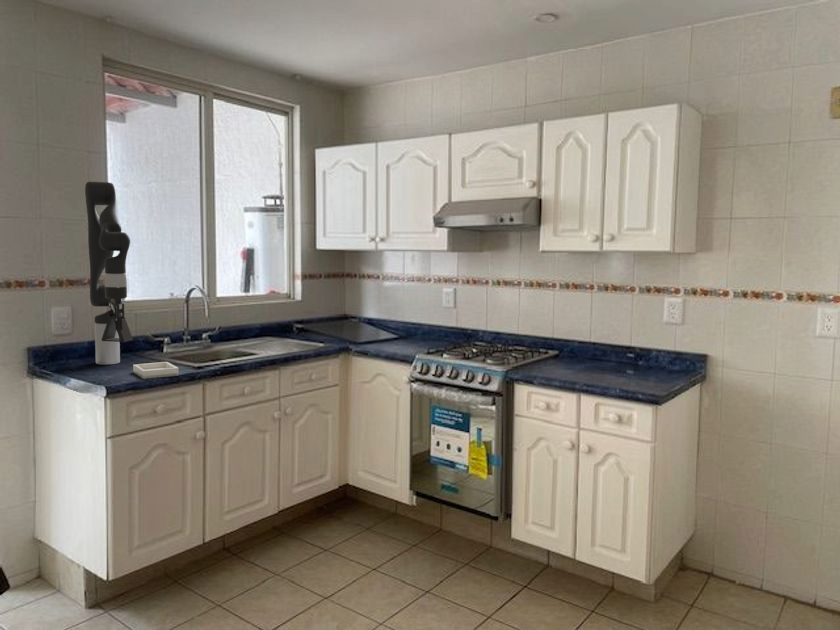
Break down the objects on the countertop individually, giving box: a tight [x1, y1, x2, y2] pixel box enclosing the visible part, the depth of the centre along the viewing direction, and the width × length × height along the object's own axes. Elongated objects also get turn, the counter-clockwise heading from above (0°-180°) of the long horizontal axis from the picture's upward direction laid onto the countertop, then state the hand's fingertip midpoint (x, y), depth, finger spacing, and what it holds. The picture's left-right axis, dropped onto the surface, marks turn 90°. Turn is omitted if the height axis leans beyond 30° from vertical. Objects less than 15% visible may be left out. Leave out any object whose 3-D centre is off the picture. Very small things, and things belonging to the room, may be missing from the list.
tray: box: [132, 361, 180, 380], centre depth 251 cm, size 15×13×3 cm
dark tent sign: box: [102, 310, 133, 343], centre depth 242 cm, size 9×6×12 cm, turn 86°
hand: (116, 329), depth 243 cm, fingers closed on dark tent sign, 6 cm apart
